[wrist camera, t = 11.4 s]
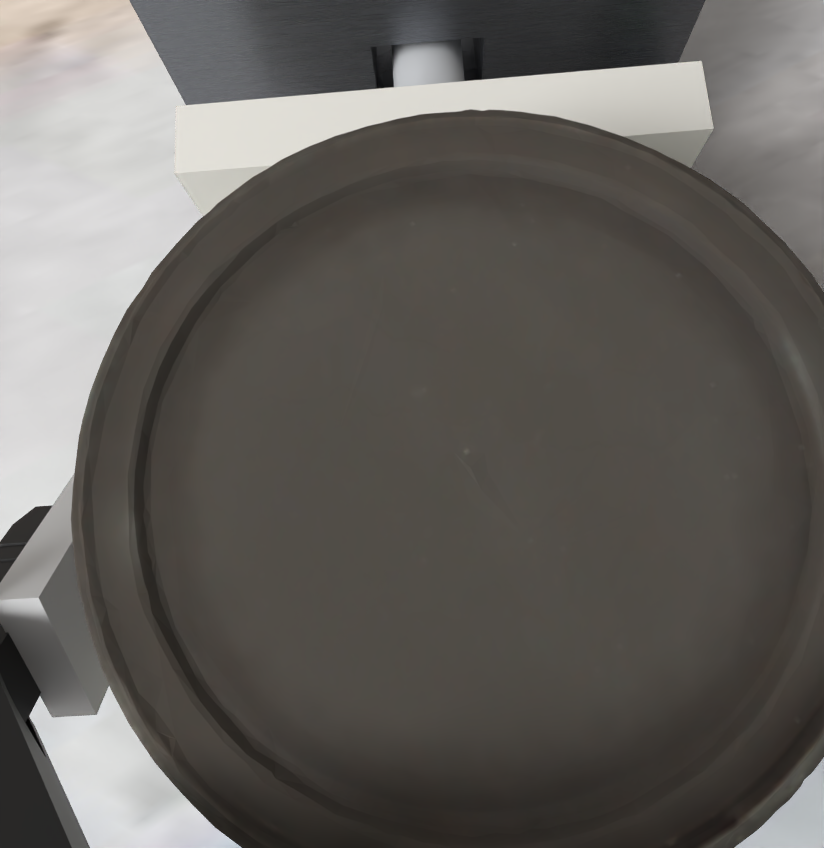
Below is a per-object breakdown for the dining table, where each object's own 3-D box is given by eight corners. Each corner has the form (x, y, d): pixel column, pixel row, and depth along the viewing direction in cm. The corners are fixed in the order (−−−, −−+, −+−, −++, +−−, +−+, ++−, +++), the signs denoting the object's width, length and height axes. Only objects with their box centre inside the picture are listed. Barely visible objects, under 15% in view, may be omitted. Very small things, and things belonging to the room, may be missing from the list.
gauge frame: (699, 509, 22) (932, 436, 12) (241, 538, 23) (59, 495, 12) (629, 52, 26) (755, -319, 15) (239, 85, 27) (99, -251, 16)
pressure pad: (705, 297, 23) (865, 116, 14) (277, 329, 23) (174, 173, 15) (657, 12, 25) (768, -292, 17) (272, 46, 26) (181, -232, 17)
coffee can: (232, 571, 23) (-102, 546, 9) (425, 327, 24) (396, -16, 10) (494, 787, 21) (583, 1176, 7) (685, 508, 22) (1062, 382, 9)
